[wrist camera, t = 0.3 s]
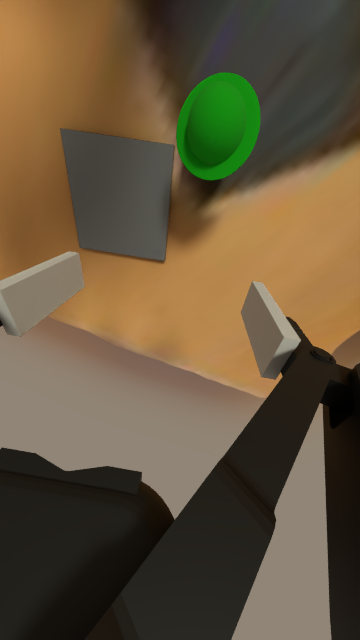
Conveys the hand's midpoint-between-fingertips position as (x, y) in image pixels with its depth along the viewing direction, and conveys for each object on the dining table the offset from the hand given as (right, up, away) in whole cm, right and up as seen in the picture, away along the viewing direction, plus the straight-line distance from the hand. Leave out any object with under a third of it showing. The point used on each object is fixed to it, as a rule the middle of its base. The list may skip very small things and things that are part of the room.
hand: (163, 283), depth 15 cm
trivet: (-10, +19, +21) cm, 30 cm away
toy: (+6, +24, +16) cm, 30 cm away
